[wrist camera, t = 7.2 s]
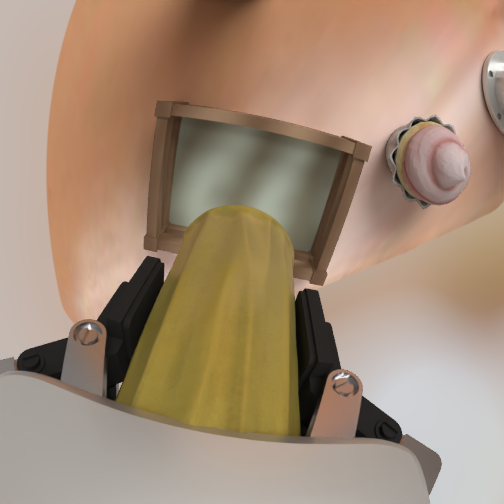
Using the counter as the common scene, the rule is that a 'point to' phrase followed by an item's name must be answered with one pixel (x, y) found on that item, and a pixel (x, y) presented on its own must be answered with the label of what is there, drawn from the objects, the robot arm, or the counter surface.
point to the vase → (223, 330)
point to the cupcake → (428, 161)
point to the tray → (251, 178)
